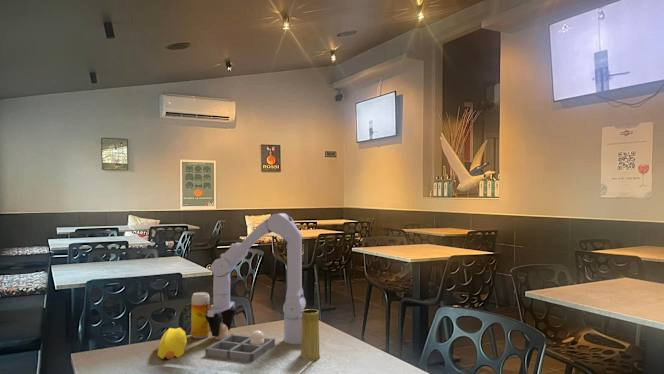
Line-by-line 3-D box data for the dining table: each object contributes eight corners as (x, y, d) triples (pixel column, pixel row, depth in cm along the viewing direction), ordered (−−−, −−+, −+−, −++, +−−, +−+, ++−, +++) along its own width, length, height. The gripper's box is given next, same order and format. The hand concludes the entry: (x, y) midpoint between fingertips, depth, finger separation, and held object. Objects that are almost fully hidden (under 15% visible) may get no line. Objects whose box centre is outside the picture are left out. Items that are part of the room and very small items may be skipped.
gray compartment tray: (274, 348, 154) (274, 338, 154) (252, 364, 139) (252, 354, 139) (231, 343, 159) (231, 334, 159) (205, 358, 144) (205, 348, 144)
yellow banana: (155, 363, 140) (183, 361, 142) (156, 340, 140) (183, 339, 142) (163, 344, 158) (187, 343, 160) (163, 324, 158) (187, 323, 160)
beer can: (204, 339, 163) (204, 295, 163) (187, 338, 164) (188, 295, 164) (212, 334, 169) (212, 292, 169) (196, 333, 170) (196, 291, 170)
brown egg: (230, 338, 164) (230, 322, 164) (223, 342, 160) (223, 325, 160) (219, 337, 165) (219, 321, 166) (212, 341, 161) (212, 324, 161)
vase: (323, 356, 146) (324, 310, 147) (312, 362, 141) (312, 314, 141) (307, 353, 150) (308, 307, 150) (296, 358, 145) (296, 311, 145)
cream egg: (266, 346, 153) (266, 329, 153) (260, 351, 149) (260, 333, 149) (254, 345, 154) (254, 328, 155) (247, 349, 150) (247, 331, 150)
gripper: (222, 288, 171) (222, 326, 171) (199, 296, 157) (199, 337, 157) (240, 289, 169) (239, 328, 169) (218, 298, 155) (217, 339, 155)
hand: (221, 332), depth 163 cm, fingers open, 7 cm apart
